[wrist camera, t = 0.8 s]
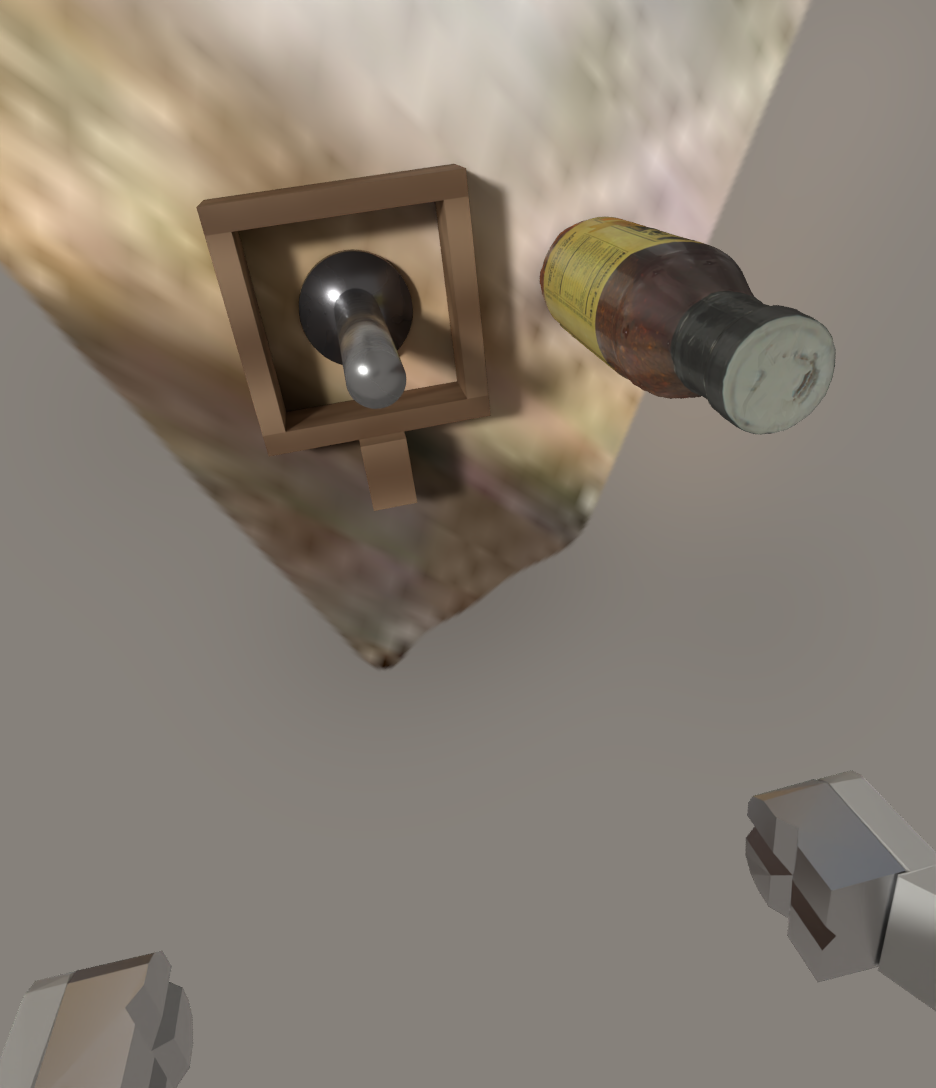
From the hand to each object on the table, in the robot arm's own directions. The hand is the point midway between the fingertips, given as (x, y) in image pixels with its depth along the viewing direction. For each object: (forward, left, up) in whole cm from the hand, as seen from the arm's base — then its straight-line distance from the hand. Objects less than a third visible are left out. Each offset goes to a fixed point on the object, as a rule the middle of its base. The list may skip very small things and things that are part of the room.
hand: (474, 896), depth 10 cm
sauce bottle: (0, +14, -34) cm, 37 cm away
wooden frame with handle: (+2, +1, -34) cm, 34 cm away
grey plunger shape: (0, +1, -34) cm, 34 cm away
